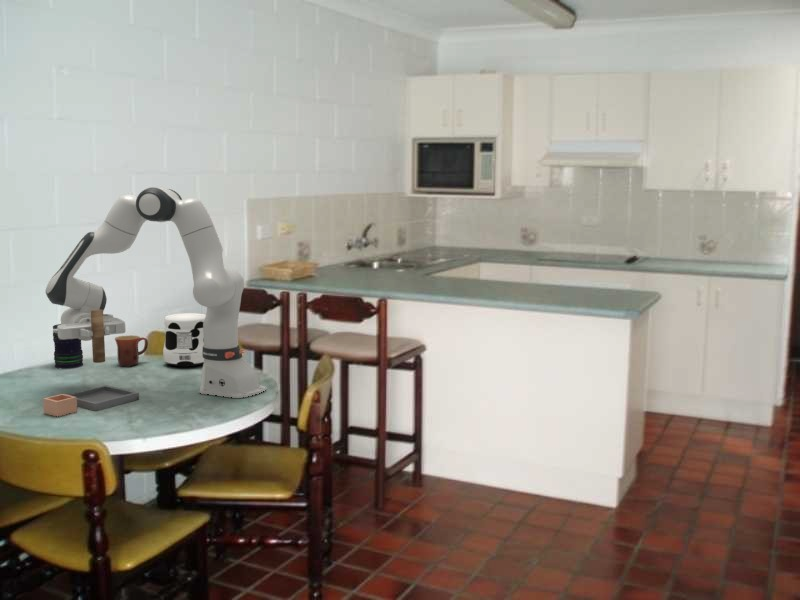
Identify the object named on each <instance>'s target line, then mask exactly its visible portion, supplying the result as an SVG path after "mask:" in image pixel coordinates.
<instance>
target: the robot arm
mask: <svg viewBox="0 0 800 600" xmlns="http://www.w3.org/2000/svg"><path fill="white" fill-rule="evenodd" d="M204 205H205V204H203V202H202V201H201V200H200V199H199V198H195V197H187V198H184V199H183V198H182V196H181V195H180V194H179V193H178V192H177V191H175V190H173V189H172V188H171V189H170V188H165V187H162V186H156V187H148V188H145V189H144V190H142V191H141V192H140V193H139V194H138V195H133V194H129V193H128V194H122V195H121V196H119V197H118V198H117V200H115V202H114V204H113V205H112V207H111V208H110V210H109V211H108V213H107V214H106V217H105V218H104V219H105V220H104V221H103V223H102V224H101V225H100V226H99V227H98V228H97V229H95V230H94V231H90V232H87V233H86V234H84V235H83V236H82V238H81V239H80V241H79V242H78V243H77V245H75V247H74V249H73V250H72V251H71V253H70V254H69V255H68V257H67V258H66V260H65V261H64V262H63V264H62V265H61V267H60V268H59V269H58V270H57V272H55V274H54V275H52V277H51V279H50V280H49V281H48V283H47V285H46V287H45V288H46V289H45V294H46V297H47V298H48V300H49V302H50V303H51V304H53V305H58V306H62V307H63V306H64V307H67V309H66V310H64V311H63V312H62V313H61V316H60V324H61V325H58V324H57V325H58V326H57V329H53V328H52V333H53V332H55V333H58V337H59V338H60V339H73V338H78V339H80V340H81V341H83V342H84V341H85V342H89V341H92V337H93V331H92V329H91V310H96V309H101V310H103V312H104V311H105V309H106V305H107V302H108V301H107V294H106V292H105V289H104V288H103V286H101V285H98V284H95V283H92V282H88V281H85V280H82V279H79V278H77V277H74V276H75V275H76V273H77V272H78V270H79V269H80V268H81V266H82V265H83V264H84V262H85V261H86V260H87V258H89V257H91V256H94V255H99V254H100V255H101V254H107V255H108V254H111V255H112V254H120V253H123V252H125V251H128V250H129V249H130V248H131V247H132V246H133V245H134V243H135V240H136V238H137V237H138V235H139V232H140V231H141V228H142V226H143V225H144V223H145V222H147V221H150V222H158V223H165V222H173V224H175V226H176V227H177V230H178V232H179V235H180V238H181V240H182V242H183V245H184V248H185V251H186V253H187V256H188V259H189V262H190V267H191V272H192V279H193V288H192V294H193V295H192V296H193V298H194V300H195V301H196V302H197V303H198V304H199V305H201V306H202V307H205V308H207V309H206V314H205V315H206V317H205V320H204V323H203V335H204V346H203V351H202V353H203V358H204V363H203V364H202V369H201V370H202V371H201V382H200V386H199V394H200V393H201V395H207V394H209V396H215V395H217V397H223V396H224V397H225V398H231V397H232V399H242V398H243V397H244V398H248V396H249V397H253V396H256V395H255V394H257V395H259V393H260V394H262V393H264V392H266V391H265V390H267V386H264V385H261V384H260V382H259V375H258V372H257V371H256V370H255V369H254V368H253V367H252V366H251V365H250V364H249V363H248V362H247V361H246V360H245V359H244V358H243V354H244V353H245V352H244V351H245V349H241V347H240V345H239V333H238V332H239V331H238V330H239V328H238V327H239V314H240V308H241V303H242V294H243V292H244V289H245V281H244V278H243V275H242V274H241V273H240V272H238V271H236V270H234V269H229V268H225V265H224V259H223V250H224V249H223V246H222V243H221V240H220V238H219V235H218V233H217V230H216V228H215V224H214V222H213V220H212V218H211V216H210V214H209V213H208V210H207V209H206V207H205V206H204ZM103 319H104V337H105V336H110V335H119V334H120V335H121V334H124V333H126V322H125V321H124V320H123V319H120V318H118V317H114V315H113V314H110V313H109V314H108V313H107V314H105V313H103ZM263 391H264V392H263ZM261 392H262V393H261ZM252 395H253V396H252Z"/></svg>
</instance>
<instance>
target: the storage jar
mask: <svg viewBox="0 0 800 600" xmlns="http://www.w3.org/2000/svg"><path fill="white" fill-rule="evenodd" d="M58 325H61V323H58V324H54V325H52V330H53V329H57V326H58ZM52 337H53V339H52V340H53V342H54V343H53V344H54V352H53V356H54V357H53V361H54V368H56V369H59V368H61V369H60V370H63V369H64V370H65V369H66V370H68V369H69V370H71V369H77V368H81V367H82V366H83V365H84V363H83V361H84V360H83V359H84V354H83V353H84V352H83V349H82V340H80V339H78V338H73V339H60V338H59V337H58V333H55V332H53V331H52Z"/></svg>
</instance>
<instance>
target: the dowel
mask: <svg viewBox="0 0 800 600" xmlns="http://www.w3.org/2000/svg"><path fill="white" fill-rule="evenodd" d="M103 314H104V311H103V310H101V309H96V310H91V329H92V331H93V337H92V340H91V345H92V346H91V349H92V363H94V364H95V363H96V364H98V363H105V362H106V348H105V347H106V344H105V336H104V319H103Z"/></svg>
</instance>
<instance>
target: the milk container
mask: <svg viewBox="0 0 800 600" xmlns="http://www.w3.org/2000/svg"><path fill="white" fill-rule="evenodd" d="M205 317H206V314H204V313H198V312H186V313H185V312H183V313H182V312H181V313H173V314H169V315H166V316H165V317H164V339H165V340H164V344H163V350H162V355H163V360H164V362H165V363H166V364H168V365H170V366H173V367H194V366H196V365H197V366H200V365H203V363H204V358H203V353H202V351H203V346H204V335H203V323H204V320H205Z"/></svg>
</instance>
